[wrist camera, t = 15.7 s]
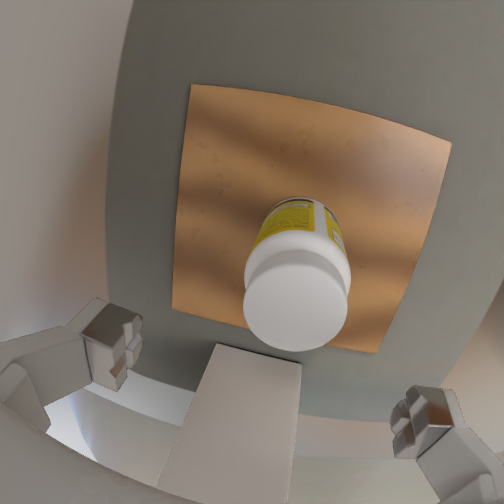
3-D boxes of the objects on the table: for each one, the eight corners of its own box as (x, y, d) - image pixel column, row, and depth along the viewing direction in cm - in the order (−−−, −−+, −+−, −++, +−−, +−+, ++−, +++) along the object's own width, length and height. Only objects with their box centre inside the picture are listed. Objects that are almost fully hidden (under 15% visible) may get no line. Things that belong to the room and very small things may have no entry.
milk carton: (208, 393, 27) (138, 573, 10) (216, 340, 24) (120, 567, 7) (281, 411, 27) (244, 599, 10) (302, 362, 24) (269, 604, 7)
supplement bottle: (249, 247, 20) (213, 327, 12) (283, 181, 18) (263, 229, 10) (316, 280, 20) (315, 373, 13) (354, 219, 18) (382, 291, 10)
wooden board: (194, 85, 17) (191, 84, 16) (448, 141, 15) (452, 142, 15) (174, 305, 24) (171, 309, 23) (374, 348, 22) (376, 353, 22)
